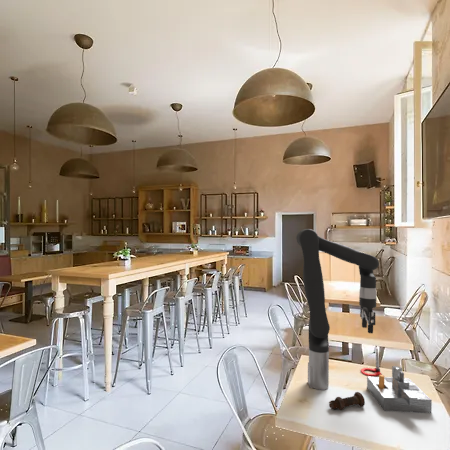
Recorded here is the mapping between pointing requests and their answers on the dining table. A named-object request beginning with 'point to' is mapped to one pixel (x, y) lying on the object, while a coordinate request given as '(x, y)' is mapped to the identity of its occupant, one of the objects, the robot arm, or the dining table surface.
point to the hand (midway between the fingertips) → (367, 330)
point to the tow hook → (376, 370)
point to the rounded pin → (381, 382)
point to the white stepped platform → (399, 393)
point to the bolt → (347, 401)
